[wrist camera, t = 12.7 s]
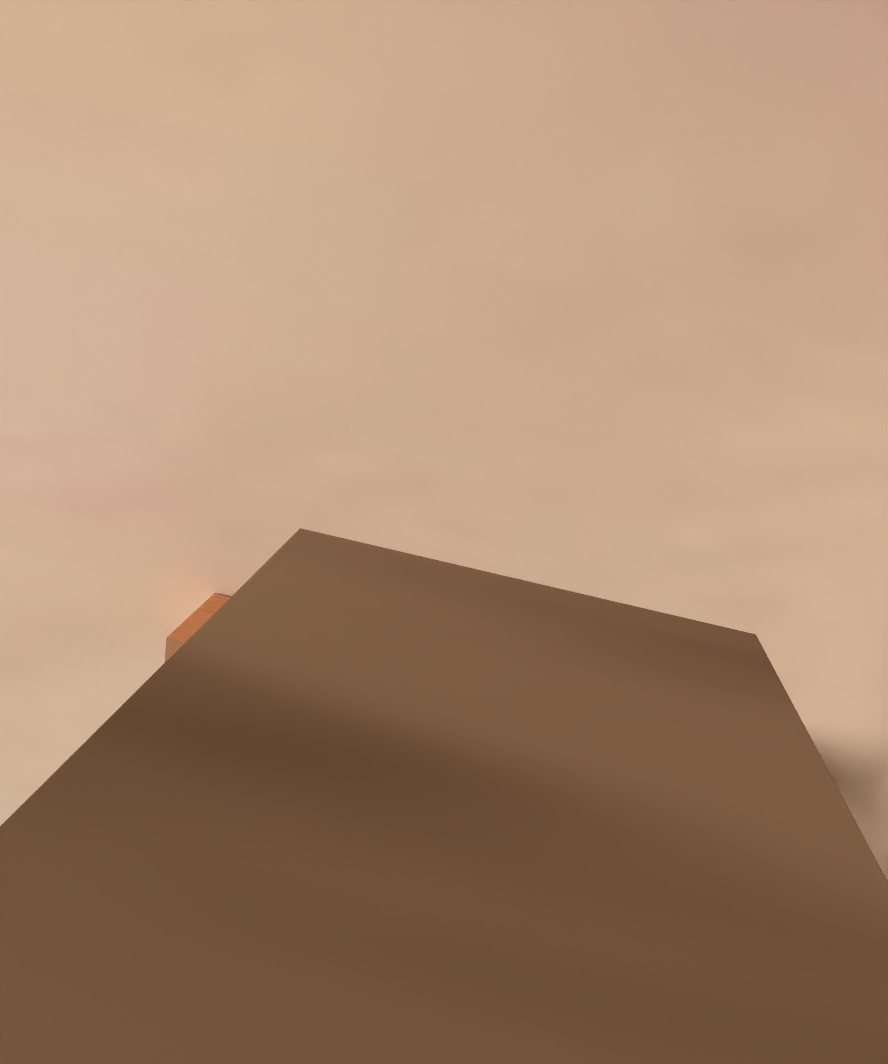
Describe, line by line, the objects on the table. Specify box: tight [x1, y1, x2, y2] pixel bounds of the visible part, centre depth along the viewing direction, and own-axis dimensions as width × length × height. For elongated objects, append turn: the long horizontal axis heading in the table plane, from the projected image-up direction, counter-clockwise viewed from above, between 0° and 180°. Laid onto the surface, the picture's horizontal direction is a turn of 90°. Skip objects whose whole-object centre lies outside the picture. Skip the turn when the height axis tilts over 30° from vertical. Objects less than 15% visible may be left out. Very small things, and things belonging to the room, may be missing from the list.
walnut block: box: [0, 528, 888, 1064], centre depth 5 cm, size 4×4×6 cm
